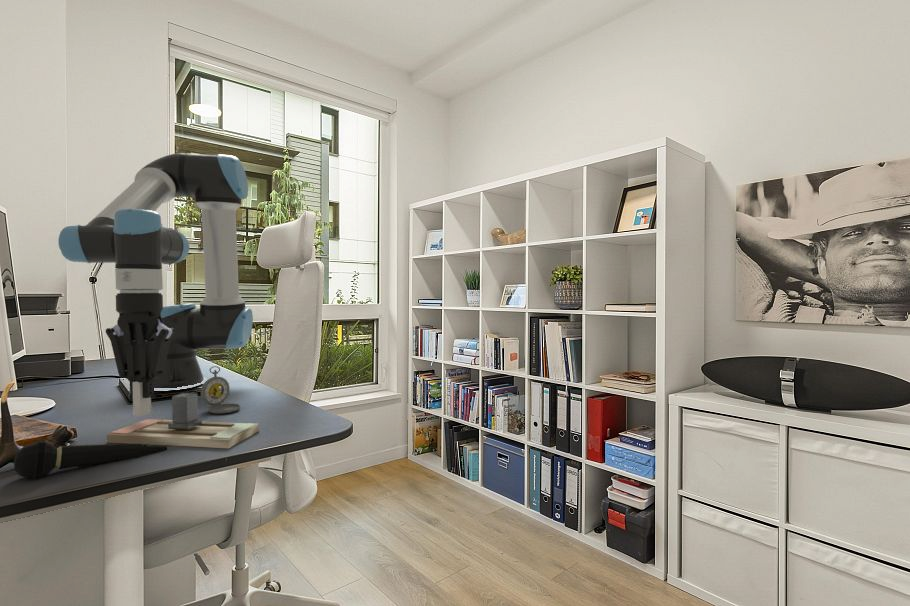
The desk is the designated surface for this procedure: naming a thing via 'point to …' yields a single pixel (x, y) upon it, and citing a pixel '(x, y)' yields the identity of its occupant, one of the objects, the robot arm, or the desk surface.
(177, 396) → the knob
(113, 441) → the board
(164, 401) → the desk surface
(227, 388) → the pocket watch
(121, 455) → the microphone
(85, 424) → the desk surface
